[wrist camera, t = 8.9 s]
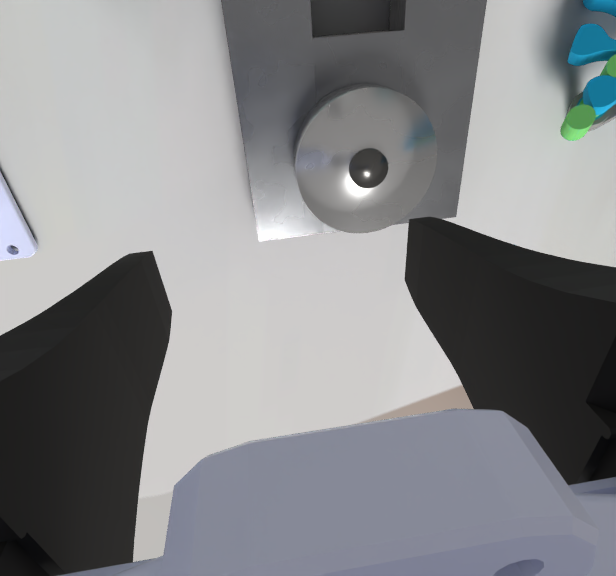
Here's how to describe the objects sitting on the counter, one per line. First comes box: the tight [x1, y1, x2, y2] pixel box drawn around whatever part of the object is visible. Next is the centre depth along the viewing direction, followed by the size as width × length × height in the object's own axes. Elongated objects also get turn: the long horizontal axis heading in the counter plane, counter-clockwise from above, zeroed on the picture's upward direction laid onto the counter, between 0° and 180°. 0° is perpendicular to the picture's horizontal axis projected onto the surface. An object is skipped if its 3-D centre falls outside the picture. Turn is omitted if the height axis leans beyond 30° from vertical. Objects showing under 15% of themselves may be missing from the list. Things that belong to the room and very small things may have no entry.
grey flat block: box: [221, 0, 487, 241], centre depth 16 cm, size 10×14×4 cm
